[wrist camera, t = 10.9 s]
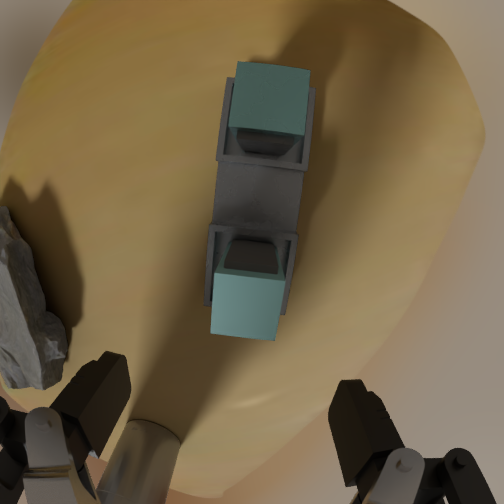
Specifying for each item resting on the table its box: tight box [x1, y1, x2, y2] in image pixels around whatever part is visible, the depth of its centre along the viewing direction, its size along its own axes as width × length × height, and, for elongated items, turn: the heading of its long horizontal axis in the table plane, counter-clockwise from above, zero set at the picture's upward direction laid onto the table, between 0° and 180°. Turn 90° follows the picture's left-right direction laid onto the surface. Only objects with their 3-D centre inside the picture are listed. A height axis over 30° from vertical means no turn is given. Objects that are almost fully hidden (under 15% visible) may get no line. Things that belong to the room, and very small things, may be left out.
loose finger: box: [211, 239, 286, 341], centre depth 20 cm, size 4×4×8 cm
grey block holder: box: [204, 61, 316, 315], centre depth 19 cm, size 20×7×10 cm, turn 173°
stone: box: [0, 206, 68, 390], centre depth 24 cm, size 24×8×25 cm
